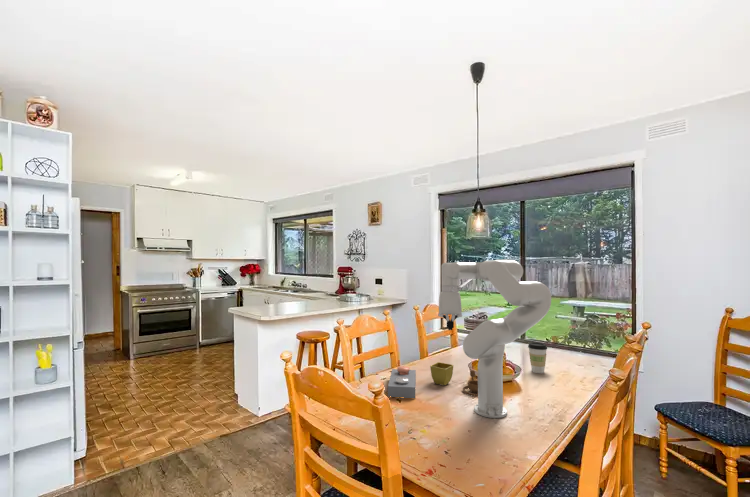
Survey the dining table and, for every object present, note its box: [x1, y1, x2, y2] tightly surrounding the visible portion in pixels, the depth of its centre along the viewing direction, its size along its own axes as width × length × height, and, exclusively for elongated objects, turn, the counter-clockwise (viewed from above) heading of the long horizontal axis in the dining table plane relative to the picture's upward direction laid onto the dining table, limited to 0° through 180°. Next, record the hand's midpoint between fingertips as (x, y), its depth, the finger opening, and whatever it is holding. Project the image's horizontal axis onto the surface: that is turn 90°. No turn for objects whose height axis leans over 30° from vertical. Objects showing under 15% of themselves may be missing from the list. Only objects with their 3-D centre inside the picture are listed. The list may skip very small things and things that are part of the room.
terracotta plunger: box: [396, 365, 410, 375], centre depth 176 cm, size 6×6×6 cm
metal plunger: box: [396, 377, 409, 384], centre depth 162 cm, size 6×6×6 cm
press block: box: [387, 368, 417, 399], centre depth 169 cm, size 26×12×5 cm, turn 173°
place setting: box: [462, 370, 478, 397], centre depth 167 cm, size 18×20×6 cm
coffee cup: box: [527, 342, 548, 374], centre depth 196 cm, size 10×10×15 cm
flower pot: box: [429, 361, 454, 386], centre depth 175 cm, size 9×9×9 cm
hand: (450, 329), depth 162 cm, fingers closed
